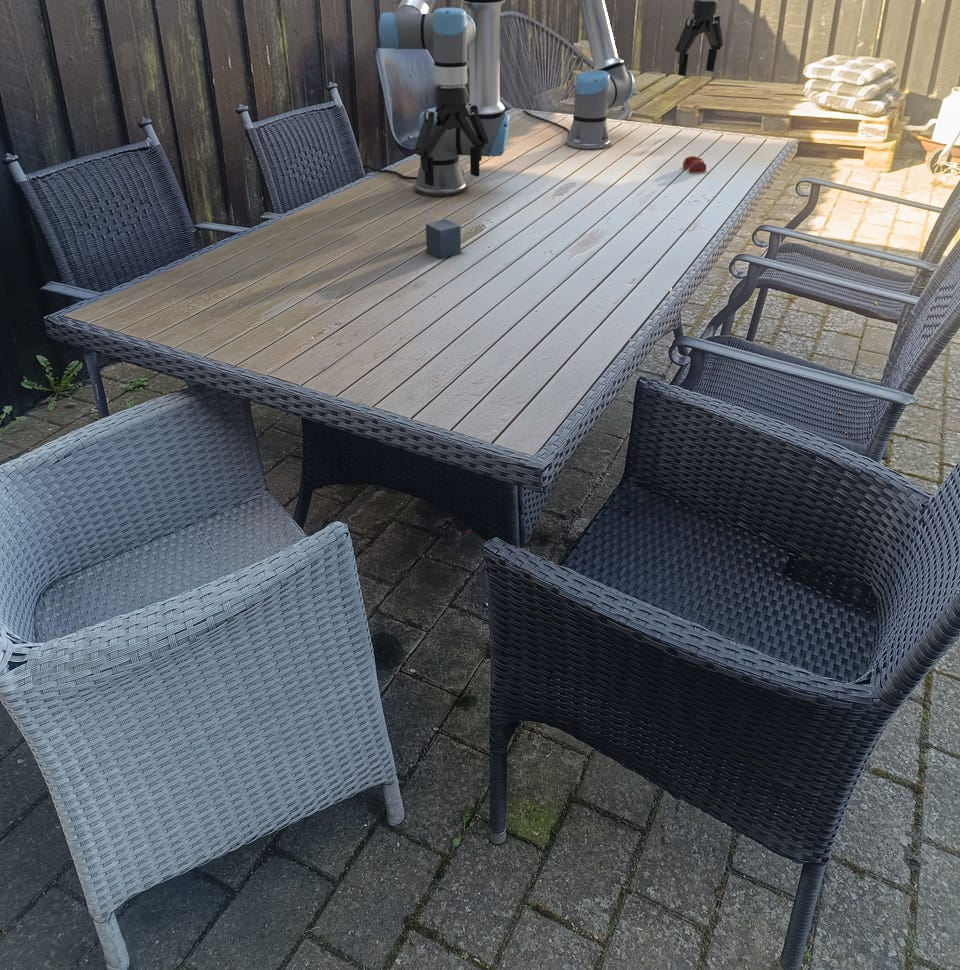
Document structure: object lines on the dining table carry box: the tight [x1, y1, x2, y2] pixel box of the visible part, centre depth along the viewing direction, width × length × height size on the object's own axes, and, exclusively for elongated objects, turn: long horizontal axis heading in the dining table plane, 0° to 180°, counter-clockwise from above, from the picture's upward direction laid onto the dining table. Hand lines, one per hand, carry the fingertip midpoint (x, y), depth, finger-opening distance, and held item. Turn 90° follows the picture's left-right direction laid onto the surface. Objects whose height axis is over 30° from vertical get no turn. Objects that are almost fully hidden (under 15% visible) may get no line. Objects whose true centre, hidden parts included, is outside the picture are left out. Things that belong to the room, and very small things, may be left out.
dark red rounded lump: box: [682, 155, 707, 173], centre depth 275 cm, size 6×4×8 cm
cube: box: [425, 218, 462, 259], centre depth 213 cm, size 7×6×7 cm
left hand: (452, 180), depth 206 cm, fingers open, 13 cm apart
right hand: (695, 73), depth 280 cm, fingers open, 13 cm apart
